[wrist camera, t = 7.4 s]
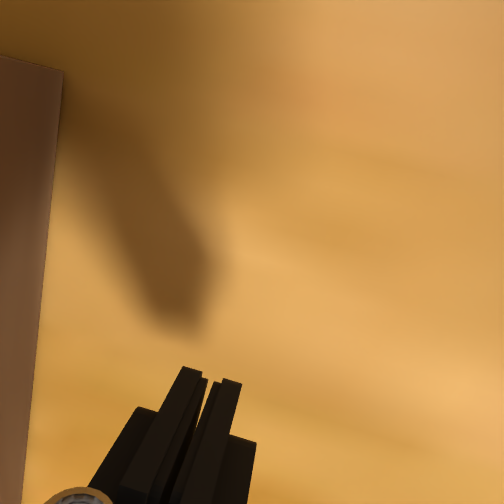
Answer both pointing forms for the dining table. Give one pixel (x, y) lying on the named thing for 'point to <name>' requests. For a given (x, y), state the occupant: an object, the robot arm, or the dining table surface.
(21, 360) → the tongs jaw
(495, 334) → the dining table surface
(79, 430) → the dining table surface
